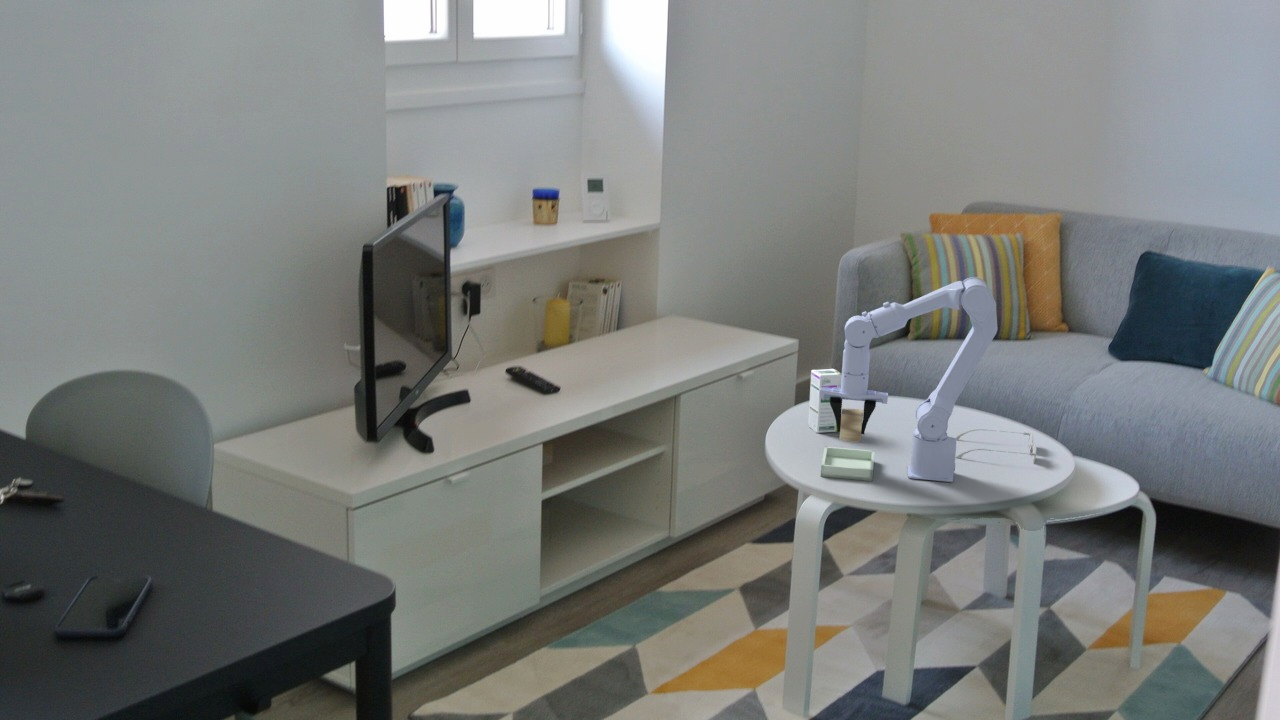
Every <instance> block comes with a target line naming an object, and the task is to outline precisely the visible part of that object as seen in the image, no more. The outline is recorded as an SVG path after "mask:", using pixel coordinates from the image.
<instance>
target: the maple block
mask: <svg viewBox="0 0 1280 720" xmlns="http://www.w3.org/2000/svg"><path fill="white" fill-rule="evenodd" d="M863 413H864V409H857V408H846V407H842V410H841V426H840V432H839V441H843V442H855V443H861V439H862V434H861V429H862V422H863Z"/></svg>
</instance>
